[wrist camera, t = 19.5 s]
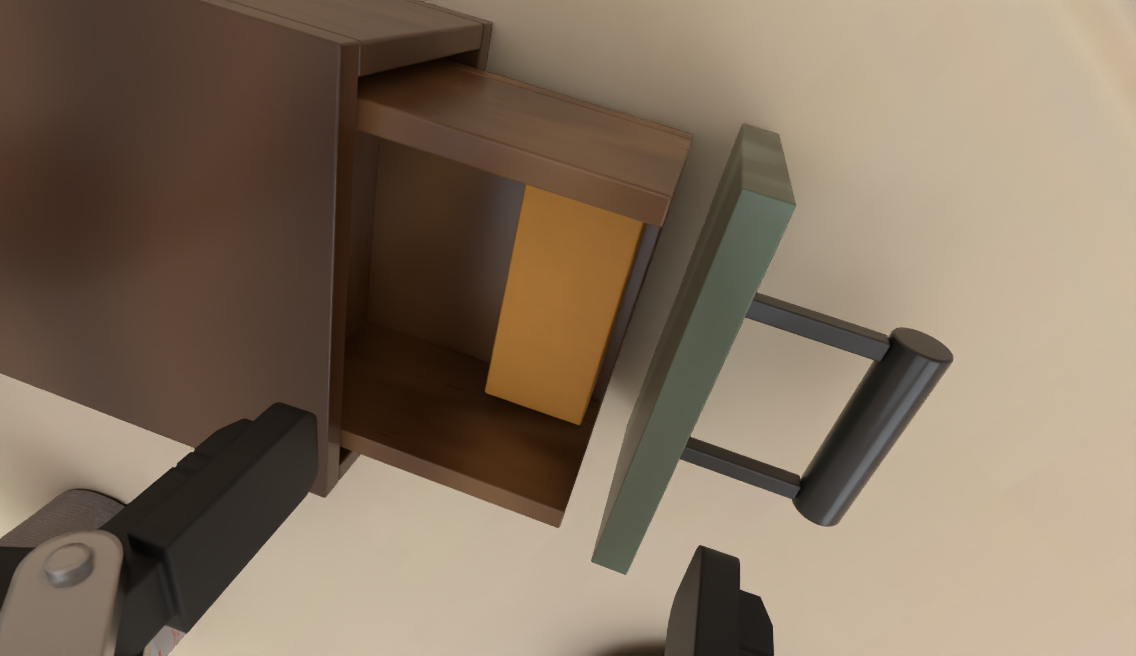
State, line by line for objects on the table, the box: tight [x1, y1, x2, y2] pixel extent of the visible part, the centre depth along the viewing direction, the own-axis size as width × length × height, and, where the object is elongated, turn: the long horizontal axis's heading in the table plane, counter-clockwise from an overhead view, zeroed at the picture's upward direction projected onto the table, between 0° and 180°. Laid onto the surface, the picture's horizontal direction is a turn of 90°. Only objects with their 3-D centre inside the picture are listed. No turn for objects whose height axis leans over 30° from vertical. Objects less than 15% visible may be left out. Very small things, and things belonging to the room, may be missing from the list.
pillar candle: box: [0, 490, 125, 547], centre depth 36 cm, size 10×10×15 cm
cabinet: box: [0, 0, 492, 498], centre depth 21 cm, size 15×14×9 cm
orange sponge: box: [485, 184, 647, 425], centre depth 21 cm, size 8×4×3 cm, turn 167°
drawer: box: [340, 58, 953, 575], centre depth 20 cm, size 19×13×7 cm, turn 76°
